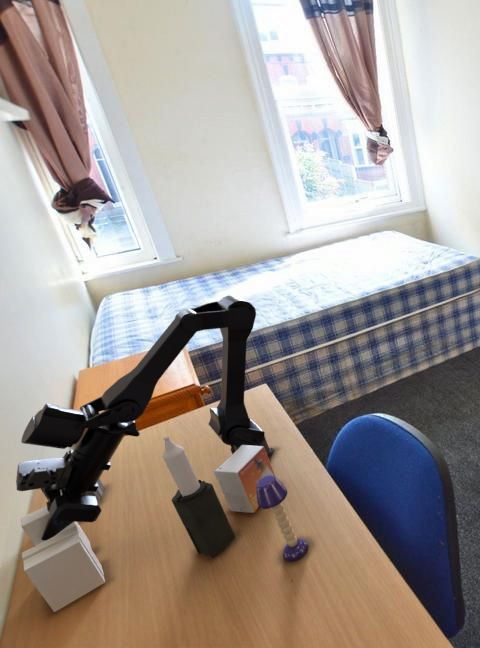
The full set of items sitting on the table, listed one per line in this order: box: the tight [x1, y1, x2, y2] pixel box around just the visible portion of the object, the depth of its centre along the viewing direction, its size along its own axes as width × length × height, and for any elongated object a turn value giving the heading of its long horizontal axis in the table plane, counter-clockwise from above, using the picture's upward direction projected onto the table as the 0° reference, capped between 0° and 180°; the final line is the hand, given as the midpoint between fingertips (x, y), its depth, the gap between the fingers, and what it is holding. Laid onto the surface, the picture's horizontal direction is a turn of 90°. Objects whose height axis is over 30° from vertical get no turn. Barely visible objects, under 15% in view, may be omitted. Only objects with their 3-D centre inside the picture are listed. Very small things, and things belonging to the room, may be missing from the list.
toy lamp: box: [256, 475, 309, 562], centre depth 81 cm, size 5×5×17 cm
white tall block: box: [20, 505, 92, 549], centre depth 85 cm, size 6×3×11 cm, turn 137°
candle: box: [162, 435, 236, 558], centre depth 82 cm, size 5×5×25 cm
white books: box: [21, 526, 106, 613], centre depth 79 cm, size 7×5×10 cm
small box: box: [213, 445, 276, 514], centre depth 95 cm, size 8×6×10 cm
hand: (44, 535), depth 83 cm, fingers closed on white tall block, 3 cm apart
